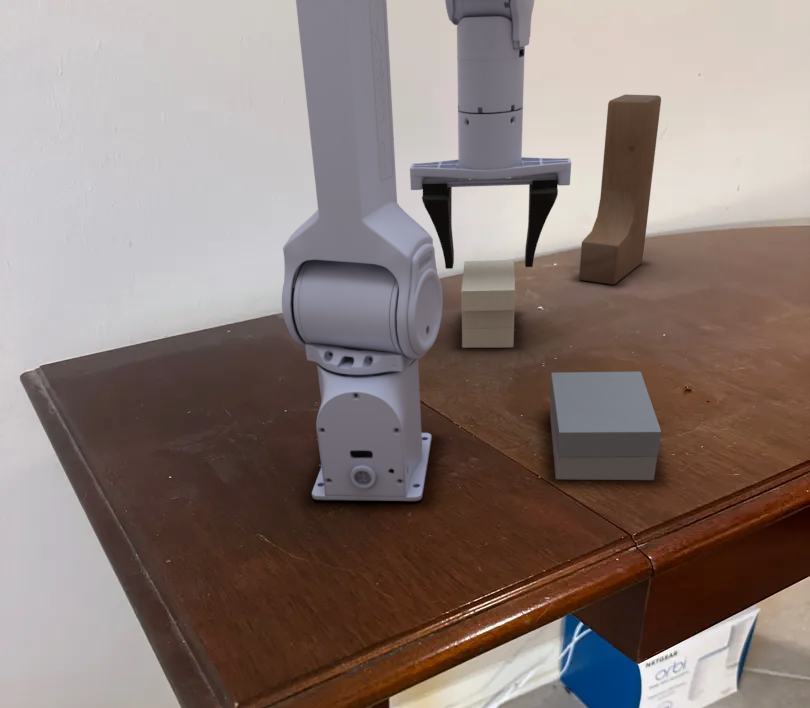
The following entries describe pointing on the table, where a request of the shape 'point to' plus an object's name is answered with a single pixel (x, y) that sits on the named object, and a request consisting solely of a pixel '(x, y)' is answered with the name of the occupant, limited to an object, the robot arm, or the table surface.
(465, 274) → the beige rectangular block
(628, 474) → the grey book
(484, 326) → the white book
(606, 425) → the grey book
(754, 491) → the table surface
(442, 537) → the table surface
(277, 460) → the table surface
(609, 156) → the wooden block
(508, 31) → the robot arm
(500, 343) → the white book
